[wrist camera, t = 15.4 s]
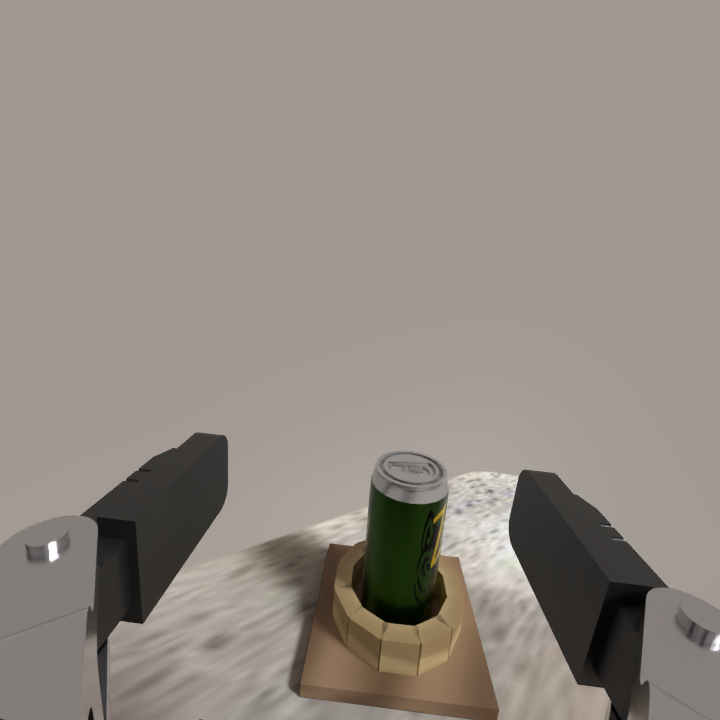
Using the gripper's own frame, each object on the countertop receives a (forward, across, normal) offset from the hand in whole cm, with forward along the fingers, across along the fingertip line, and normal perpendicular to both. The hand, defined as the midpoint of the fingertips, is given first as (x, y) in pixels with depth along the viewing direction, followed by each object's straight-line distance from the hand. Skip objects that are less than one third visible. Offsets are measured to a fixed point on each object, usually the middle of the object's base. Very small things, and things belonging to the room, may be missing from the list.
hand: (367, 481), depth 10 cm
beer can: (+13, -3, +19) cm, 24 cm away
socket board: (+14, -3, +20) cm, 25 cm away
